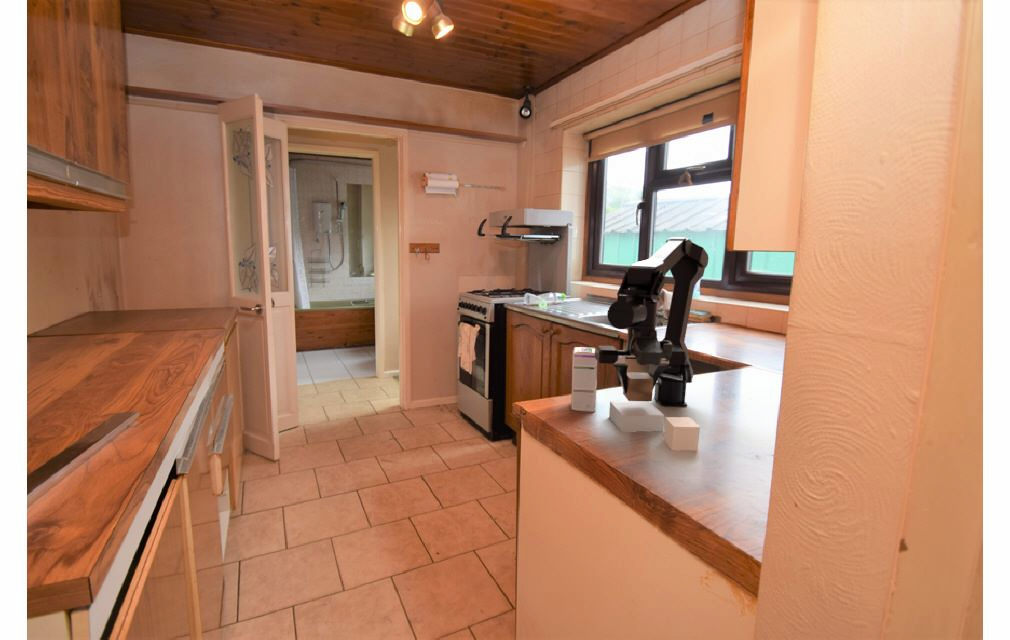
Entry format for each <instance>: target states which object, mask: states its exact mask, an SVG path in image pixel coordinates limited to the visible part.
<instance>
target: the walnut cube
mask: <svg viewBox="0 0 1010 640" xmlns="http://www.w3.org/2000/svg"><path fill="white" fill-rule="evenodd" d="M653 390H654V388H653V378H652V377H651V376H650V375H649V373H648V372H637V371H636V372H634V371H632V372H631V371H630V372H629V371H627V393H624V391H623V390H622V391H623V392H622V394H623V395H624V397H625V399H627V401H648V402H652V401H653V392H654V391H653Z"/></svg>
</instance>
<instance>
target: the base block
mask: <svg viewBox="0 0 1010 640" xmlns="http://www.w3.org/2000/svg"><path fill="white" fill-rule="evenodd" d="M608 414H609V415H608V416H609V418H610V419H612V420H613V421H614V422H613V421H612V420H611V421H612V422H613V423H614V424H615V425H616V427H617V428H618V429H619V430H620V431H621V432H622V433H633V432H632V431H660V432H664V426H665V414H664V413H663V412H661V411H660V409H658V408H657V407H656V406H655V405H653V404H652V403H651V401H628V400H627V401H626V400H625V401H621V400H619V401H618V400H617V401H614V400H613V401H609V413H608ZM630 431H631V432H630Z"/></svg>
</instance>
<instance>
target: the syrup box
mask: <svg viewBox="0 0 1010 640" xmlns="http://www.w3.org/2000/svg"><path fill="white" fill-rule="evenodd" d="M595 348H596V347H587V346H585V347H584V346H579V347H578V346H577V347H574V348H573V350H572V362H571V363H572V367H571V368H572V369H571V371H572V372H571V401H570V402H571V407H570V408H571V411H572V410H573V411H577V412H588V413H589V412H590V413H594V412H596V406H597V383H598V382H597V380H598V379H597V378H598V361H597V360H596V358H595Z"/></svg>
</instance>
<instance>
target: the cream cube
mask: <svg viewBox="0 0 1010 640" xmlns="http://www.w3.org/2000/svg"><path fill="white" fill-rule="evenodd" d="M700 431H701V427H700V426H699V425H698V424H697V423H696V422H695V421H694V420H693V419H692V418H691V417H685V416H684V417H683V416H681V417H679V416H677V417H676V416H664V428H663V439H664V440H665V441H664V440H663V441H664V442H665V444H666V443H667V444H668V445H667V444H666V445H667V447H668V448H669V449H670V448H671V449H670V450H671V451H673V450H675V451H676V452H678V451H677V450H684V451H683V452H687V451H686V450H690V451H689V452H698V451H699V441H700ZM692 450H693V451H692Z"/></svg>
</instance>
